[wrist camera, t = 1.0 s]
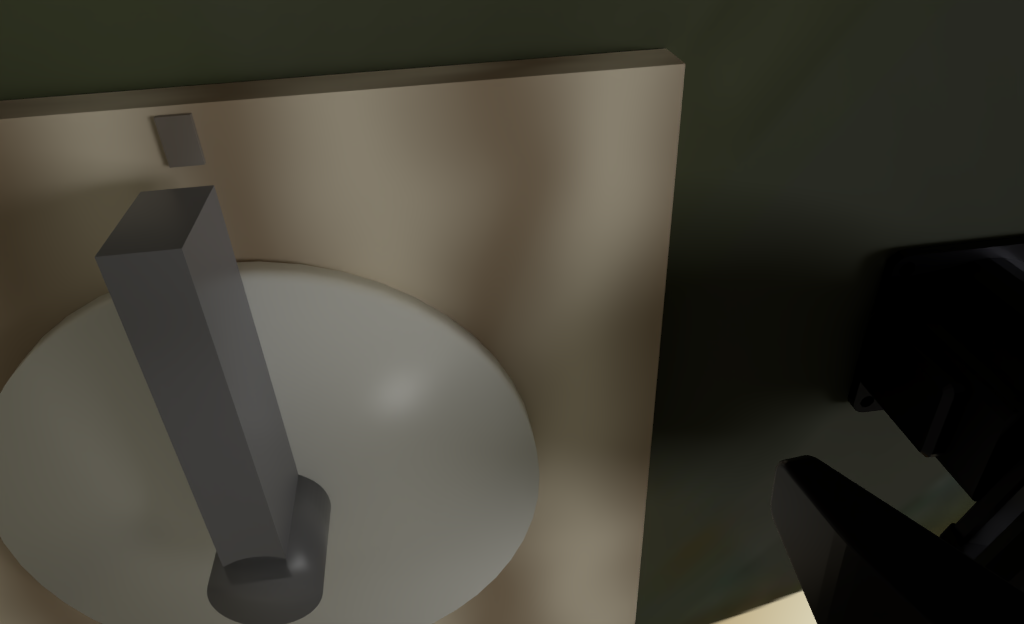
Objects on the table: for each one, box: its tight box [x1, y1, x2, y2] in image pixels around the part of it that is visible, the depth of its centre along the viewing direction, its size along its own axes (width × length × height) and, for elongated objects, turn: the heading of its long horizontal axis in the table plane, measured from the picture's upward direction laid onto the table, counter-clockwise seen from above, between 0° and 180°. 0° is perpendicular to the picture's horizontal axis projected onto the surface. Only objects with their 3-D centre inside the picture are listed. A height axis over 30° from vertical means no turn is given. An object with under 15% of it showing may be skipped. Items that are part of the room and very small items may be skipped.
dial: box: [0, 185, 540, 624], centre depth 21 cm, size 18×16×4 cm
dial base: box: [0, 48, 685, 624], centre depth 24 cm, size 24×24×2 cm
